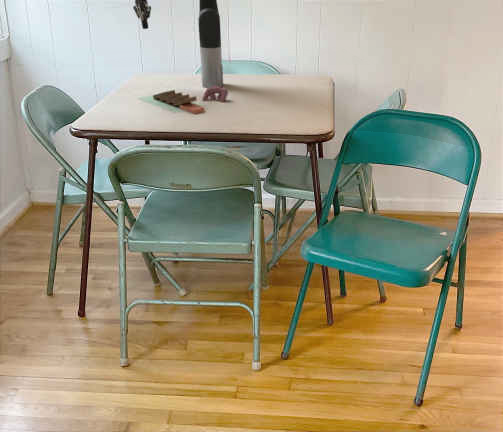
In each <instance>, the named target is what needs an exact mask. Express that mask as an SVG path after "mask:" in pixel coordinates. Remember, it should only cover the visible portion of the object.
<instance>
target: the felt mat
mask: <svg viewBox="0 0 503 432" xmlns="http://www.w3.org/2000/svg"><path fill="white" fill-rule="evenodd" d="M153 95H154V94H152V95H147V96H142V97H137V100H140V101H143V102H146V103H147V104H150V105H153V106H155V107H158V108H161V109H164V110H167V111H169V112H172V113H175V114H177V113H181V112H182V113H183V112H186V111H185V110H182V109H180V106H179V105H178V106H173V103H170V104H167V102H166V100H165V101H160V99H159V98H157V99H154V98H153ZM190 103H193V104H196V105H199V106H202V107H204V108H205V105H202V104H199V103H197V102H195V101H193V102H190Z"/></svg>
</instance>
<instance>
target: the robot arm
mask: <svg viewBox="0 0 503 432" xmlns="http://www.w3.org/2000/svg"><path fill="white" fill-rule="evenodd" d="M134 4H135V5H134V6H132V7H133V11H134V12H135V14H136V16H137V19H139V20H140V22H141V26H142V27H141V28H142V29H143V30H146V29H149V22H148V19H150V17H151V10H152V6H151V5H148V0H134ZM218 7H219V6H218V2H217V0H199V10H198V11H199V12H198V13H199V14H198V35H199V37H198V39H199V49H200V50H199V51H200V67H201V85H202V87H204V88H208V87H212V86H220V87H224V71H223V69H224V68H223V59H222V36H221V34H222V33H221V16H220V12H219V8H218Z"/></svg>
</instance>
